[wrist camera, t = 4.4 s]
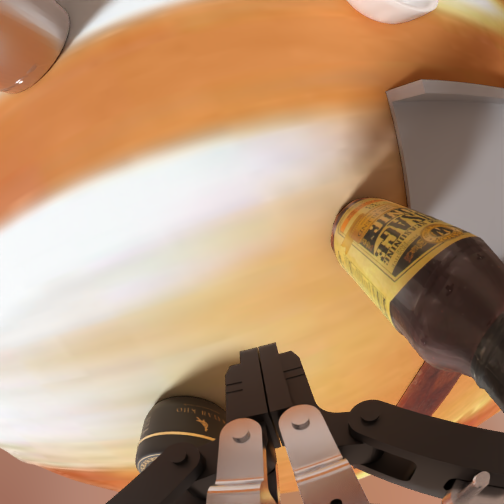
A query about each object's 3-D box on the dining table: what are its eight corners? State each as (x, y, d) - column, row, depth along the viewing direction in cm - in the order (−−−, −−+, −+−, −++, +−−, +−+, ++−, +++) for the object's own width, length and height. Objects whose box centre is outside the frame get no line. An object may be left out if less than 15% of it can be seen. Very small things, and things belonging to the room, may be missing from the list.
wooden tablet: (428, 341, 27) (436, 349, 26) (472, 340, 29) (479, 347, 27) (343, 467, 35) (345, 474, 33) (389, 458, 36) (392, 465, 35)
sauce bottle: (387, 186, 21) (628, 275, 2) (396, 256, 23) (576, 398, 4) (314, 207, 21) (572, 389, 2) (330, 280, 23) (485, 495, 4)
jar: (249, 403, 26) (256, 463, 19) (221, 449, 29) (222, 499, 22) (153, 379, 25) (137, 439, 17) (141, 431, 27) (131, 481, 20)
